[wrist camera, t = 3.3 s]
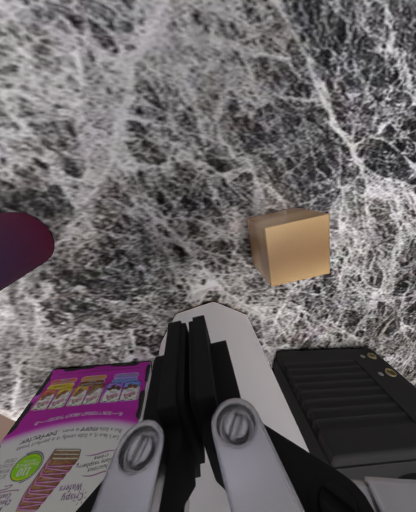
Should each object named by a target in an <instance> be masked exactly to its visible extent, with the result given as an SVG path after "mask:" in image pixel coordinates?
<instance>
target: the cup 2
mask: <svg viewBox="0 0 416 512" xmlns="http://www.w3.org/2000/svg"><path fill="white" fill-rule="evenodd" d="M201 315H204V317H205V321H206V325H207V329H208V333H209V337H210V341H211V343H215V342H220V341H224V340H226V342H227V346H228V350H229V354H230V357H231V361H232V365H233V369H234V373H235V377H236V381H237V384H238V388H239V392H240V396H241V399H243V400H246V401H248V402H249V403H250V404H252V405H253V406H254V408H255V409H256V411H257V412H258V414H259V416H260V418H261V420H262V422H263V424H265V425H266V426H268V427H269V428H271V429H273V430H274V431H276V432H277V433H279V434H280V435H282V436H284V437H285V438H287V439H288V440H290V441H292V442H293V443H295V444H296V445H298V446H299V447H301V448H303V449H304V450H306V451H307V452H309V450H308V448H307V446H306V444H305V441H304V439H303V437H302V435H301V433H300V430H299V428H298V426H297V424H296V422H295V419H294V417H293V415H292V413H291V411H290V408H289V406H288V404H287V402H286V400H285V397H284V395H283V393H282V391H281V389H280V387H279V384H278V382H277V380H276V378H275V376H274V373H273V371H272V369H271V367H270V365H269V362H268V360H267V358H266V356H265V354H264V351H263V349H262V347H261V345H260V343H259V340H258V338H257V336H256V334H255V332H254V329H253V327H252V325H251V323H250V321H249V318H248V316H247V315H246V314H243V313H241V312H238V311H236V310H233V309H231V308H228V307H226V306H224V305H221V304H219V303H216V302H210V303H207V304H204V305H201V306H198V307H195V308H192V309H189V310H186V311H183V312H180V313H178V314H176V315H175V317H174V319H173V321H172V322H176V321H181V322H182V323H186V325H187V329H188V332H189V322H190V321H193V320H192V318H193V317H197V316H201ZM167 331H168V330H167ZM166 338H167V332H166V334H165V336H164V338H163V340H162V342H161V346H160V351H159V356H162V355H164V352H165V345H166ZM309 453H310V452H309ZM200 470H201V477H198V478H196V487H195V488H194V490H193V492H192V494H191V495H190V497H189V500H190V508H189V512H231V511H230V507H229V502H228V498H227V494H226V490H225V489H223V488H222V487H221V486H220V485H219V484H218V483H217V482H216V480H215V477H214V474H213V471H212V468H211V465H210V462H209V459H208V456H207V453H206V450H205V463H203V464H200Z"/></svg>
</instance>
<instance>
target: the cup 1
mask: <svg viewBox="0 0 416 512" xmlns="http://www.w3.org/2000/svg"><path fill="white" fill-rule="evenodd" d="M53 250H54V241H53V237H52V235H51V233H50V231H49V230H48V228H47V227H46V226H45V225H44V224H43V223H42V222H41V221H39V220H38V219H37V218H35V217H33V216H31V215H28V214H25V213H0V291H1V290H2V289H4V288H5V287H7V286H9V285H10V284H12V283H13V282H15V281H16V280H18V279H19V278H21V277H23V276H24V275H26V274H27V273H29V272H30V271H32V270H34V269H35V268H37V267H38V266H40V265H41V264H43V263H44V262H46V261H47V260H48V259H49V258H50V257H51V255H52V253H53Z"/></svg>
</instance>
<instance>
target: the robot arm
mask: <svg viewBox="0 0 416 512" xmlns="http://www.w3.org/2000/svg"><path fill="white" fill-rule="evenodd" d="M192 320H193V321H190V322H189V332H188V329H187V325H186V323H182V322H181V321H176V322H172V323H169V324H168V331H167V338H166V345H165V352H164V355H162V356H157V357H156V358H155V360H154V364H153V369H152V375H151V380H150V385H149V390H148V395H147V400H146V405H145V410H144V415H143V420H142V421H140V422H138V423H137V424H135V425H133V426H132V427H131V428H130V429H129V430H128V431H126V433H125V434H124V435H123V437H122V438H121V439H120V441H119V443H118V445H117V447H116V449H115V452H114V454H113V457H112V459H111V462H110V464H109V467H108V470H107V472H106V475H105V477H104V479H103V481H102V482H101V483H100V484H99V485H98V486H97V488H96V489H95V490H94V491H93V492H92V493H91V494H90V496H89V497H88V498H87V499H86V500H85V501H84V503H83V504H82V505H81V506H80V507H79V508H78V509H77V511H76V512H189V508H190V500H189V497H190V495H191V494H192V492H193V490H194V488H195V487H196V478H198V477H201V470H200V464H203V463H205V450H206V453H207V456H208V459H209V462H210V465H211V468H212V471H213V474H214V477H215V480H216V482H217V483H218V484H219V485H220V486H221V487H222V488H223V489H225V490H226V494H227V498H228V502H229V507H230V511H231V512H416V480H412V479H397V478H382V477H366V476H365V480H352V479H349V478H348V477H346V476H345V475H344V474H342V473H341V472H339V471H337V470H336V469H334V468H333V467H331V466H330V465H328V464H326V463H325V462H323V461H322V460H320V459H318V458H317V457H315V456H314V455H312V454H311V453H309V452H307V451H306V450H304V449H303V448H301V447H299V446H298V445H296V444H295V443H293V442H292V441H290V440H288V439H287V438H285V437H284V436H282V435H280V434H279V433H277V432H276V431H274V430H273V429H271V428H269V427H268V426H266V425H265V424H263V422H262V420H261V418H260V416H259V414H258V412H257V411H256V409H255V408H254V406H253V405H252V404H250V403H249V402H248V401H246V400H243V399H241V396H240V392H239V388H238V384H237V381H236V377H235V373H234V369H233V365H232V361H231V357H230V354H229V350H228V346H227V342H226V340H224V341H220V342H215V343H211V341H210V337H209V333H208V329H207V325H206V321H205V317H204V315H201V316H197V317H193V318H192Z"/></svg>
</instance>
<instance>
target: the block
mask: <svg viewBox="0 0 416 512" xmlns="http://www.w3.org/2000/svg"><path fill="white" fill-rule="evenodd" d="M247 224H248V231H249V238H250V245H251V252H252V259H253V265H254V266H255V267H256V269H257V270H258V271H259V272H260V273H261V275H262V276H263V277H264V278H265V279H266V281H267V282H268V283H269V284H270V285H271V286H276V285H281V284H285V283H289V282H294V281H298V280H303V279H307V278H311V277H316V276H320V275H324V274H329V273H330V238H329V214H328V213H322V212H317V211H312V210H307V209H301V208H292V209H287V210H283V211H278V212H274V213H269V214H265V215H260V216H256V217H251V218H247Z"/></svg>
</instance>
